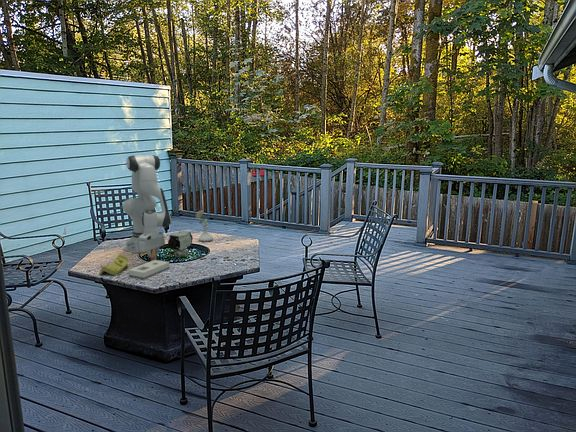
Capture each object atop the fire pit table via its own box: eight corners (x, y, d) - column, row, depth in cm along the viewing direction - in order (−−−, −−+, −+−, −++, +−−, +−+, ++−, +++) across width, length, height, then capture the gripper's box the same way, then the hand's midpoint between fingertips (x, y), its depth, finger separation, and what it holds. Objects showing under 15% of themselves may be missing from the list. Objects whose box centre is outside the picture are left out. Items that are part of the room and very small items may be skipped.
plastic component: (116, 272, 259) (101, 265, 259) (112, 282, 261) (98, 275, 261) (132, 259, 278) (118, 253, 278) (128, 269, 280) (114, 262, 280)
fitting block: (143, 279, 253) (143, 272, 252) (129, 276, 259) (128, 269, 258) (169, 268, 273) (169, 262, 272) (155, 265, 278) (154, 259, 277)
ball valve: (178, 260, 288) (176, 235, 285) (168, 259, 292) (166, 233, 288) (195, 253, 304) (194, 229, 300) (185, 252, 308) (184, 228, 304)
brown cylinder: (149, 262, 284) (148, 248, 282) (153, 261, 287) (152, 246, 285) (153, 263, 282) (152, 249, 280) (158, 261, 286) (157, 247, 284)
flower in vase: (208, 238, 346) (207, 207, 341) (215, 240, 338) (214, 209, 332) (193, 240, 338) (192, 209, 333) (200, 243, 329) (199, 211, 324)
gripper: (159, 230, 291) (160, 250, 294) (136, 237, 274) (138, 258, 276) (166, 231, 289) (167, 251, 292) (144, 238, 271) (145, 259, 274)
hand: (153, 254), depth 284 cm, fingers open, 5 cm apart
